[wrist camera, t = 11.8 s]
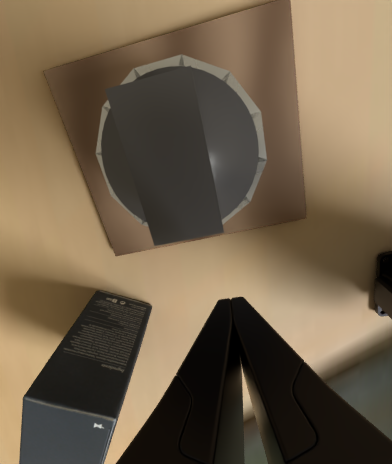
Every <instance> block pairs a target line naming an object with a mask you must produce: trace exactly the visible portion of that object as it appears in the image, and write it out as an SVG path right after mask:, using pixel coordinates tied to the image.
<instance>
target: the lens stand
mask: <svg viewBox="0 0 392 464" xmlns="http://www.w3.org/2000/svg"><path fill="white" fill-rule="evenodd" d="M181 54H182V55H185V56H188V57H191V58H194V59H196V60H199V61H202V62H205V63H208V64H211V65H214V66H216V67H219V68H222V69H225V70H228V71H230V72H231V73H232V75H233V76H234V77H235V78H236V80H237V81H238V82H239V84H240V85H241V86H242V88H243V89H244V90H245V92H246V93H247V94H248V95H249V97H250V98H251V99H252V101H253V102H254V103H255V105H256V106H257V107H258V109H259V110H260V111H261V116H262V124H263V132H264V140H265V148H266V156H267V161H266V164H265V166H264V169H263V171H262V174H261V176H260V179H259V181H258V184H257V186H256V189H255V191H254V194H253V196H252V199H251V202H249V203H248V204H247V205H246V206H245V207H243V208H242V209H241V210H240V211H239V212H237V213H236V214H235V215H234V216H233V217H231V218H230V219H229V220H228V221H227V222H225V223H224V224H223V229H224V233H219V234H214V235H209V236H204V237H199V238H194V239H189V240H183V241H178V242H173V243H168V244H163V245H158V246H154V243H153V240H152V237H151V233H150V230H149V227H148V226H144V225H141V224H140V223H139V222H138V221H137V220H136V219H135V218H134V217H133V216H132V215H131V214H130V213H129V212H128V211H127V210H125V209H124V208H123V207H122V206H121V205H120V204H119V203H118V202H117V201H116V200H115V199H114V198H113V197H112V196H111V194H110V192H109V189H108V186H107V183H106V181H105V178H104V175H103V172H102V170H101V167H100V164H99V161H98V159H97V156H96V148H97V141H98V134H99V127H100V120H101V113H102V106H103V105H104V104H105V103H106V101H107V100H108V98H107V95H106V92H105V89H108V88H111V87H115V86H118V85H120V84H121V83H122V82H123V81H124V79H125V78H126V77H127V76H128V75H129V73H130V72H131V71H132V70H133V68H136V67H140V66H143V65H147V64H150V63H154V62H157V61H160V60H164V59H167V58H171V57H174V56H178V55H181ZM43 72H44V74H45V77H46V79H47V82H48V85H49V87H50V90H51V92H52V95H53V97H54V100H55V102H56V105H57V108H58V110H59V113H60V115H61V118H62V120H63V123H64V125H65V128H66V131H67V133H68V136H69V138H70V141H71V143H72V146H73V148H74V151H75V154H76V156H77V159H78V161H79V164H80V166H81V169H82V171H83V174H84V176H85V179H86V182H87V184H88V187H89V189H90V192H91V194H92V197H93V199H94V202H95V205H96V207H97V210H98V212H99V215H100V217H101V220H102V222H103V225H104V228H105V230H106V233H107V235H108V238H109V240H110V243H111V245H112V248H113V251H114V253H115V256H120V255H125V254H130V253H135V252H140V251H145V250H150V249H155V248H160V247H165V246H170V245H175V244H180V243H185V242H190V241H195V240H200V239H205V238H210V237H215V236H220V235H225V234H230V233H235V232H240V231H245V230H250V229H255V228H260V227H265V226H270V225H275V224H280V223H285V222H290V221H295V220H300V219H305V218H306V204H305V191H304V177H303V164H302V151H301V137H300V124H299V110H298V97H297V83H296V70H295V56H294V43H293V29H292V16H291V2H290V0H277V1H274V2H270V3H267V4H264V5H260V6H257V7H254V8H250V9H247V10H244V11H241V12H237V13H234V14H231V15H227V16H224V17H221V18H217V19H214V20H211V21H207V22H204V23H201V24H197V25H194V26H191V27H188V28H184V29H181V30H178V31H174V32H171V33H168V34H164V35H161V36H158V37H154V38H151V39H148V40H144V41H141V42H138V43H135V44H131V45H128V46H125V47H121V48H118V49H115V50H111V51H108V52H105V53H101V54H98V55H95V56H91V57H88V58H85V59H82V60H78V61H75V62H72V63H68V64H65V65H62V66H58V67H55V68H52V69H48V70H45V71H43Z"/></svg>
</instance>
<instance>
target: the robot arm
mask: <svg viewBox="0 0 392 464" xmlns="http://www.w3.org/2000/svg"><path fill="white" fill-rule="evenodd" d="M384 258H386V259H385V260H383V259H384ZM374 302H375V312H376V313H377V314H378V315H379V316H389V317H390V318H391V319H392V251H390V252H384V253H381V254H380V255H378V257H377V269H376V279H375V292H374ZM241 364H242V368H241ZM242 369H243V373H244V377H245V380H246V384H247V388H248V391H249V395H250V399H251V402H252V406H253V410H254V413H255V417H256V420H257V424H258V428H259V431H260V435H261V439H262V442H263V446H264V450H265V453H266V457H267V461H268V464H392V441H391V440H390V439H389V438H388V437H387V436H386V435H384V434H383V433H382V432H381V431H380V430H379V429H377V428H376V427H375V426H374V425H373V424H372V423H370V422H369V421H368V420H367V419H366V418H365V417H363V416H362V415H361V414H360V413H359V412H358V411H356V410H355V409H354V408H353V407H352V406H351V405H349V404H348V403H347V402H346V401H345V400H344V399H343V398H342V397H340V396H339V395H338V394H337V393H336V392H335V391H334V390H333V389H331V388H330V387H329V386H328V385H327V384H326V383H325V382H324V381H323V380H322V379H321V378H320V377H319V376H318V375H317V374H316V373H315V372H314V371H313V370H312V369H311V367H310V366H309V365H308V364H307V363H305V362H304V360H303V359H302V358H301V357H300V356H299V355H298V354H297V353H296V352H295V351H294V350H293V349H292V348H291V347H290V346H289V345H288V343H287V342H286V341H285V340H284V339H283V338H282V337H281V336H280V335H279V334H278V333H277V332H276V331H275V330H274V329H273V328H272V327H271V326H270V325H269V324H268V323H267V321H266V320H265V319H264V318H263V317H262V316H261V315H260V314H259V313H258V312H257V311H256V310H255V309H254V308H253V307H252V306H251V305H250V304H249V303H248V302H247V300H246V299H245V298H244V297H235V298H232V299H231V300H230V299H229V298H228V299H221V300H218V302H217V304H216V305H215V307H214V309H213V311H212V312H211V314H210V316H209V318H208V319H207V321H206V323H205V325H204V326H203V328H202V330H201V332H200V333H199V335H198V337H197V338H196V340H195V342H194V344H193V345H192V347H191V349H190V351H189V352H188V354H187V356H186V358H185V359H184V361H183V363H182V365H181V366H180V368H179V370H178V372H177V373H176V375H177V376H175V377H174V378H173V380H172V382H171V384H170V385H169V387H168V389H167V390H166V392H165V394H164V395H163V397H162V399H161V400H160V402H159V403H158V405H157V406H156V408H155V409H154V411H153V412H152V414H151V415H150V417H149V418H148V420H147V421H146V422H145V424H144V425H143V427H142V428H141V429H140V431H139V432H138V434H137V435H136V436H135V438H134V439H133V441H132V442H131V443H130V445H129V446H128V447H127V449H126V450H125V452H124V453H123V454H122V456H121V457H120V459H119V460H118V461H117V463H116V464H244V431H243V395H242Z"/></svg>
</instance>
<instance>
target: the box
mask: <svg viewBox="0 0 392 464" xmlns="http://www.w3.org/2000/svg"><path fill="white" fill-rule="evenodd" d="M151 310H152V306H151V305H149V304H145V303H142V302H139V301H136V300H132V299H128V298H125V297H122V296H118V295H114V294H111V293H107V292H104V291H101V290H99V291H96V292H95V294H94V295H93V297H92V298H91V300H90V301H89V303H88V304H87V305H86V307H85V308H84V310H83V311H82V313H81V314H80V316H79V317H78V319H77V320H76V321H75V323H74V324H73V326H72V327H71V329H70V330H69V331H68V333H67V334H66V336H65V337H64V339H63V340H62V341H61V343H60V344H59V346H58V347H57V349H56V350H55V352H54V353H53V354H52V356H51V357H50V359H49V360H48V362H47V363H46V365H45V366H44V368H43V369H42V371H41V372H40V373H39V375H38V376H37V378H36V379H35V381H34V382H33V384H32V385H31V387H30V388H29V390H28V391H27V393H26V394H25V395H24V397H23V410H22V426H21V443H20V460H19V464H104V462H105V459H106V455H107V452H108V449H109V445H110V442H111V439H112V436H113V433H114V429H115V426H116V423H117V420H118V417H119V414H120V411H121V408H122V405H123V401H124V398H125V395H126V392H127V389H128V385H129V382H130V379H131V376H132V373H133V369H134V366H135V363H136V360H137V357H138V354H139V350H140V347H141V344H142V341H143V337H144V334H145V330H146V327H147V323H148V320H149V316H150V313H151Z"/></svg>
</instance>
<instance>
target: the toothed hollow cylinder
mask: <svg viewBox="0 0 392 464" xmlns="http://www.w3.org/2000/svg"><path fill="white" fill-rule="evenodd" d="M190 65H191V67H193V68H196V69H200V70H204V71H206V72H208V73H210V74H213V75H215V76H216V77H218V78H219V79H221V80H223V81H224V82H225V83H227V84H228V85H229V86H230V87H231V88H232V89H233V90H234V91H235V92H236V93H237V94H238V95H239V96H240V97H241V99H242V100H243V102H244V103H245V105H246V106H247V108H248V110H249V112H250V114H251V116H252V118H253V121H254V124H255V127H256V132H257V137H258V146H259V156H258V165H257V170H256V174H255V177H254V180H253V183H252V185H251V187H250V189H249V191H248V193H247V195H246V196H245V198H244V199H243V201H242V202H241V203H240V204H239V205H238V207H237V208H236V209H235V210H234V211H233V212H231V213H230V214H229V215H228V216H226V217H225V218H224V219H222V224H224V223H225V222H227V221H228V220H229V219H230V218H231V217H233V216H234V215H235V214H236V213H237V212H239V211H240V210H241V209H242V208H243V207H245V206H246V205H247V204H248V203H249V202H251V199H252V196H253V194H254V191H255V189H256V186H257V184H258V181H259V179H260V176H261V174H262V171H263V169H264V166H265V164H266V161H267V156H266V148H265V140H264V132H263V124H262V116H261V111H260V110H259V109H258V107H257V106H256V105H255V103H254V102H253V101H252V99H251V98H250V97H249V95H248V94H247V93H246V92H245V90H244V89H243V88H242V86H241V85H240V84H239V82H238V81H237V80H236V78H235V77H234V76H233V75H232V73H231V72H230V71H228V70H225V69H222V68H219V67H216V66H214V65H211V64H208V63H205V62H202V61H199V60H196V59H194V58H191V57H188V56H185V55H182V54H181V55H178V56H174V57H171V58H167V59H164V60H160V61H157V62H154V63H150V64H147V65H143V66H140V67H136V68H133V70H132V71H131V72H130V73H129V75H128V76H127V77H126V78H125V79H124V81H123V82H122V83H121V84H120V85H122V84H126V83H129V82H133V81H134V80H135V79H136V78H138V77H140V76H142V75H144V74H145V73H147V72H150V71H153V70H156V69H159V68H164V67H169V66H185V67H187V66H190ZM110 108H111V107H110V104H109V101H108V100H107V101H106V103H105V104H104V105H103V106H102V113H101V120H100V127H99V134H98V141H97V148H96V156H97V159H98V161H99V164H100V167H101V170H102V172H103V175H104V178H105V181H106V183H107V186H108V189H109V192H110V194H111V196H112V197H113V198H114V199H115V200H116V201H117V202H118V203H119V204H120V205H121V206H122V207H123V208H124V209H125V210H127V211H128V212H129V213H130V214H131V215H132V216H133V217H134V218H135V219H136V220H137V221H138V222H139V223H140V224H141V225H144V226H148V224H147V222H145V221H143V220H141V219H140V218H138V217H137V216H135V215H134V214H133V213H132V212H131V211H129V210H128V209H127V208H126V207H125V206H124V205H123V204H122V202H121V201H120V200H119V199H118V197H117V196H116V194H115V193H114V191H113V189H112V188H111V186H110V184H109V181H108V179H107V177H106V174H105V170H104V167H103V161H102V155H101V139H102V131H103V127H104V122H105V120H106V117H107V114H108V112H109V110H110Z"/></svg>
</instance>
